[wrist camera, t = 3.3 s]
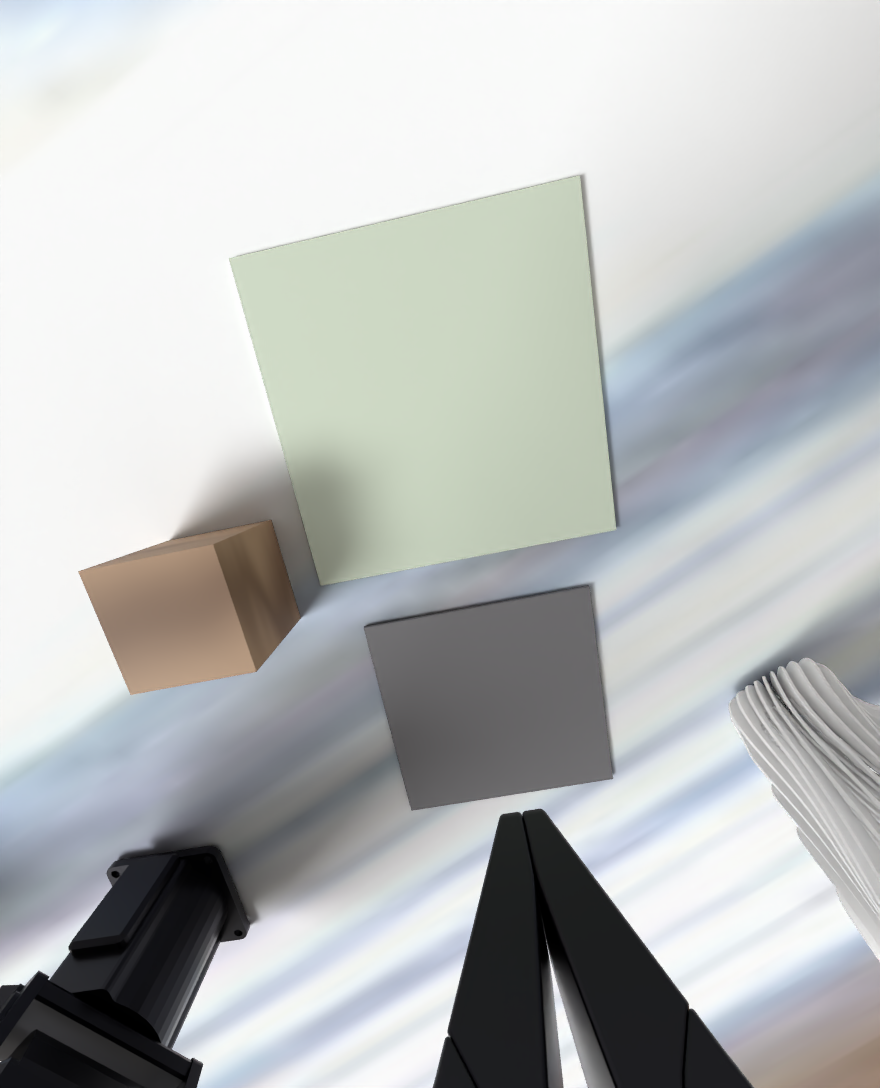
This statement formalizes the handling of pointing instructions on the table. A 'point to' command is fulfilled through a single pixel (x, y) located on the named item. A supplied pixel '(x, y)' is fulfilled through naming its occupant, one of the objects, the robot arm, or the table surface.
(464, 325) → the mat
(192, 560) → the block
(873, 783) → the shell sculpture
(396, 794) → the table surface
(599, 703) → the mat
